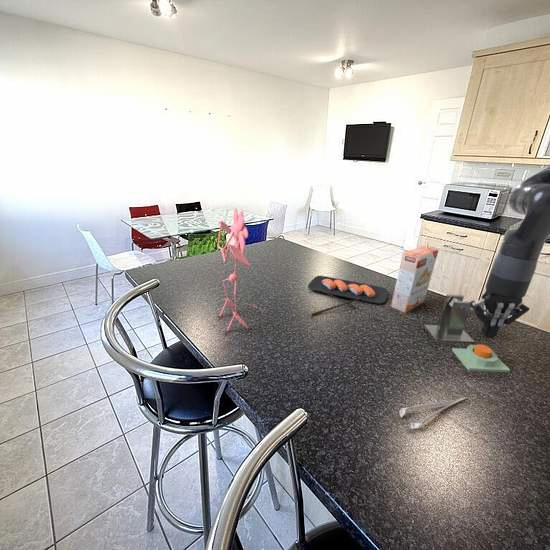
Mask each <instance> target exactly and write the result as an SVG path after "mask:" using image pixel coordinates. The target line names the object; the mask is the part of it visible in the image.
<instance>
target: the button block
mask: <svg viewBox="0 0 550 550" xmlns="http://www.w3.org/2000/svg"><path fill="white" fill-rule="evenodd" d="M476 345H477V344H471V345H468V346H467V347H466V348H460V347H459V348H458V347H452V349H451V351H452V352H453V354H454V355H455V356H456V357H457V358H458V360H459V361H460V362H461V363H462V365H463V366H464V367H465V368H466V369H467V371H473V372H492V373H493V372H494V373H510V372H511V369H510V368H509V367H508V366H507V365H506V364H505V363H504V362H503V361H502V360H501V359H500V358H499V357H498V355H497V354H496V352H494V351H493V350H492V353H491V356H490V358H483V357H480V356H478V355H476V354H475V353H474V349H475V346H476Z"/></svg>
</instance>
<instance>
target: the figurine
mask: <svg viewBox="0 0 550 550" xmlns="http://www.w3.org/2000/svg"><path fill="white" fill-rule="evenodd" d="M232 215H233V217H232V219H233V221H232V222H233V224H231V225H230V226H229V225H228V224H227V223H226V222H224V221H223V220H219V230H218V231H219V232H218V237H217V244H216V246H217V249H220V252H221V255H222V260H223V263H224V264H225V265H226V264H227V261H228V257H230V258H232V259H233V260H235V264H234V270H233V271H234V272H233V273H231V274H230V275H229V276H228V278H225V279H223V280H222V284H223V289H224V292H225V296H226V297H225V298H224V300H223V301H224V302H225V303H224V305H223V307H222V310H221V312H220V314H219V317H222V316H223V313H224V312H225V309H226V307H227V306H228V307H229V308H231V309H232V314H233V316H232V318H231V321H230V322H229V325H228V327H227V329H226V331H227V332H229V330H230V329H231V326H232V324H233V322H234V321H235V319H236V320H237V321H238V323H240V325H242V326H243V328H245V329H246V330H249V327H248V325H247V324H246V323H245V321H244V320H243V319H242V318H241V316H240V315H239V314H238V312H237V293H236V291H237V282H238V280H239V276H238V275H237V274H236V272H237V266H238V262H240V263H241V264H243V265H244V266H246V267H248V268H251V265H250V262H249V261H248V259H247V258H246V256H245V255H244V254H245V250H246V239H247V238H249V230H248V229H247V227H246V226H245V222H246V221H245V218H244V211H243V210H240V211H239V213H238V209H237V207H236V208H234V209H233V214H232ZM222 230H223V231H225V233H227V234H228V235H230V237H229V238H228V240H227V242H226V244H225V245H224V247H223V248H222V247H221V246H220V242H221V236H222ZM232 239H233V241H234V245H232V244H230V242H231V240H232ZM230 252H231V253H232V254H230ZM226 281H229V282H230V283H233V284H234V291H233V292H234V293H233V298H234V304H233V302H231V300H230V299H229V295H228V293H227V288H226V284H225V282H226ZM243 304H245V305H247V303H246V302H243ZM248 305H249V306H252V307H255V308H257V309H259V310H260V311H262V309H261V308H259V307H257V304H256V305H255V304H250V303H248ZM264 315H265V316H267V314H265V313H264ZM230 342H232V340H229V343H230Z"/></svg>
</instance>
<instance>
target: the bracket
mask: <svg viewBox="0 0 550 550" xmlns="http://www.w3.org/2000/svg"><path fill="white" fill-rule="evenodd" d="M453 298H456V299H459V300H461V301H454V303H453V306H452V307H451V306H450V305H449V303H450V302H451V301H452V299H453ZM470 302H471V301H464V295H463V294H446V296H445V299H444V302H443V306H442V310H441V312H440V313H441V314H440V316H439V320H438V323H437V325H436V324H423V326H424V328H425V329H426V330H427V331H428V334H430V335H431V337H432V338H433V339H434V341H435V342H450V343H472V344H473V343H474V344H475V343H476V340H474V339H473V338H472V337H471V336H470V335H469V334H468V333H467V332H466V331H465V329H464V328H465V327H466V326H465V325H466V323H467V319H468V316H469V313H470V312H469V311H470V308H472V307H471V305H470Z"/></svg>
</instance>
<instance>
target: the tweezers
mask: <svg viewBox="0 0 550 550" xmlns="http://www.w3.org/2000/svg"><path fill="white" fill-rule="evenodd" d="M466 399H467V398H466V396H464V397H461V398H456V399H452V400H447V401H440V402H434V403H423V404H417V405H413V406H407V407H403V408H402V407H401V408H400V410H399V416H400V418H403V417H404V416H405V415H406V414H407V413H408V414H409V413H412V412H413V413H414V412H418V411H424V410H430V409H437V408H439V410H437V411H435V412H434V413H432V414H430V415H428V416H427V417H425V418H423V419H422V420H421V421H420V422H412V421H411V422H410V428H411V429H412V430H415V429H419V428H421V427H422V425H423V424H424V423H426V422H427V421H428V420H430V419H431V418H432V417H434V416H436V415H438V414H440V413H441V412H442V411H444V410H445V409H448V408H450V407H451V406H453V405H456V404H457V403H459V402H461V401H464V400H466Z"/></svg>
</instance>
